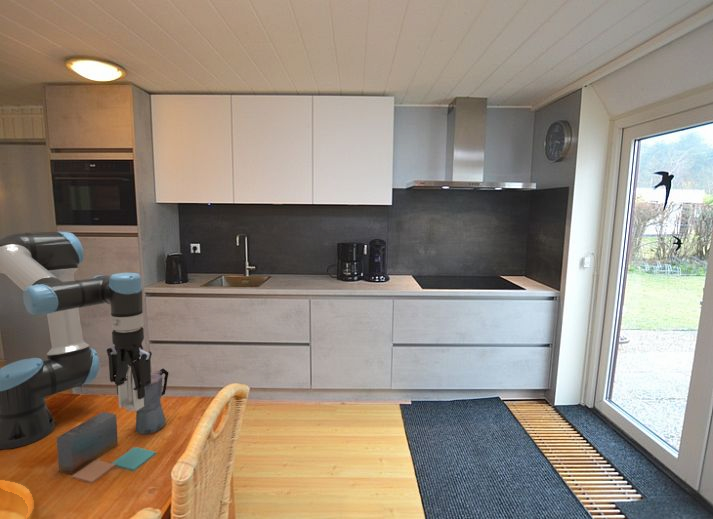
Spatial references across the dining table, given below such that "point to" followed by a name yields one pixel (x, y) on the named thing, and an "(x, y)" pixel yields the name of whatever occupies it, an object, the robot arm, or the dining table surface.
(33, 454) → the dining table surface
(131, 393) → the screw
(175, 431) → the dining table surface
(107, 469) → the terracotta pad
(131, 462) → the teal pad
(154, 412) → the moka pot
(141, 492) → the dining table surface
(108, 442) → the grey unit
